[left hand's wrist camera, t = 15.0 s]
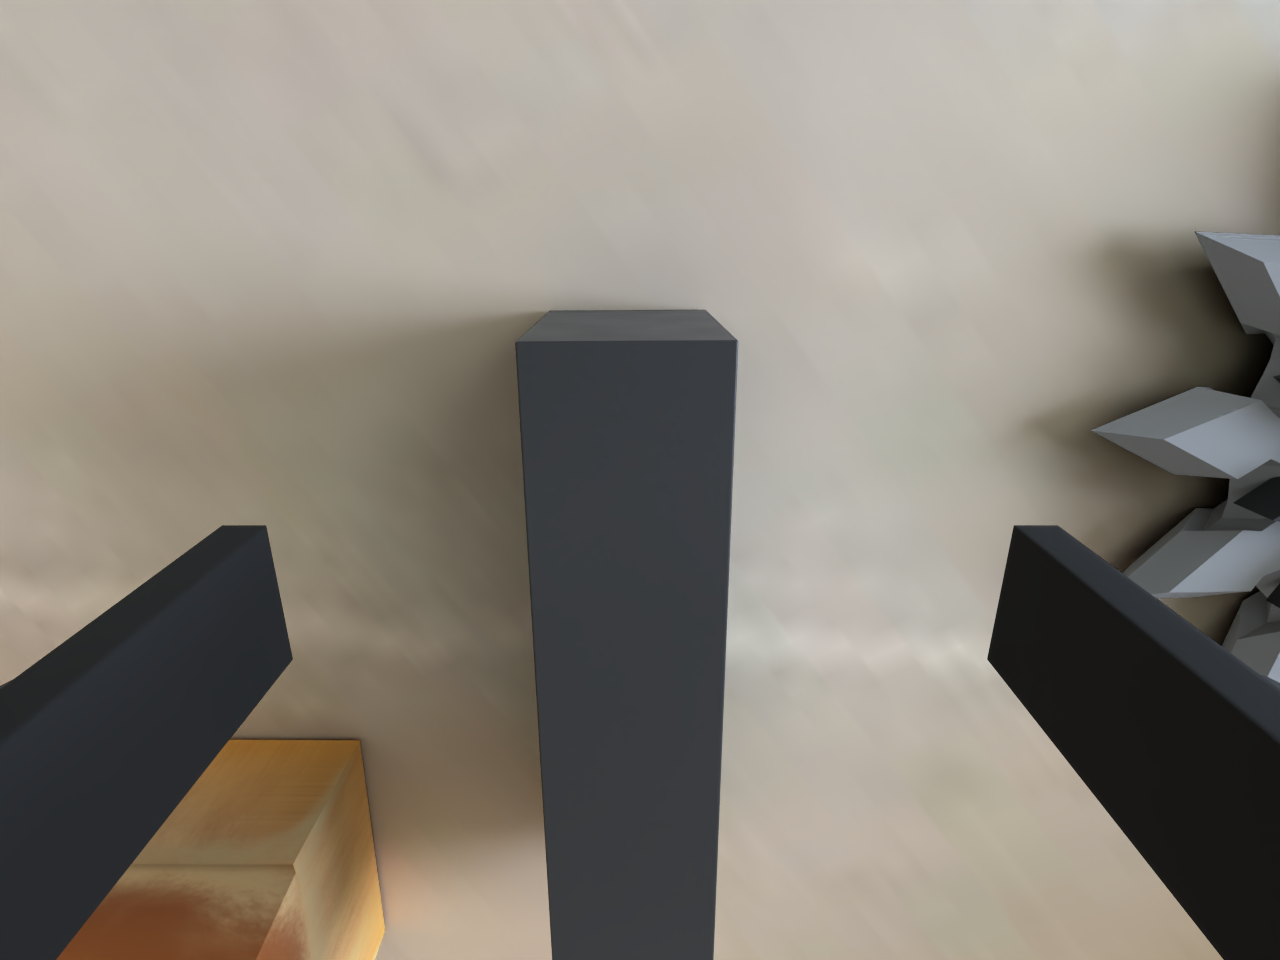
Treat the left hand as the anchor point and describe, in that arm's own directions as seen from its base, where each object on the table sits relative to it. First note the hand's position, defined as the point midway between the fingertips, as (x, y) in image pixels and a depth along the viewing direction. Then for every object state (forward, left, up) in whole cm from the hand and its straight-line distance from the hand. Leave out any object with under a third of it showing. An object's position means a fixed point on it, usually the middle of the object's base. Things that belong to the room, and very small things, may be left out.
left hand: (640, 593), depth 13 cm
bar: (+3, +8, -16) cm, 18 cm away
